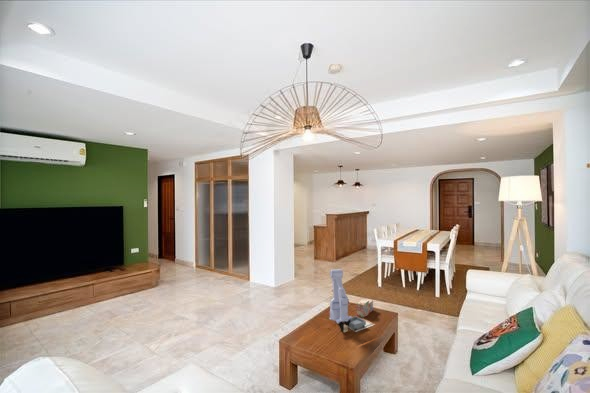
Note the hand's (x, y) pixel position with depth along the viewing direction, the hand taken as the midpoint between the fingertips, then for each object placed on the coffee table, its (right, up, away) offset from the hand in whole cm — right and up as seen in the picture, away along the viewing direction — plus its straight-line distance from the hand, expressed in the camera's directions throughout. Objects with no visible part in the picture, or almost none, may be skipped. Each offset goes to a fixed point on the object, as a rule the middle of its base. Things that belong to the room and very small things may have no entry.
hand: (344, 330), depth 221 cm
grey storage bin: (+10, 0, +6) cm, 12 cm away
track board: (+14, -1, +9) cm, 17 cm away
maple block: (0, -1, 0) cm, 1 cm away
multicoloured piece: (+25, -1, +33) cm, 41 cm away
